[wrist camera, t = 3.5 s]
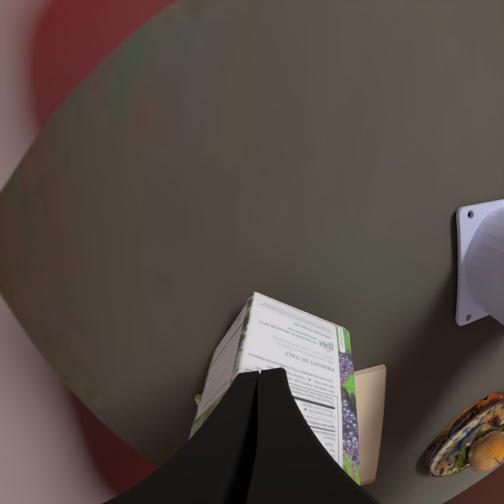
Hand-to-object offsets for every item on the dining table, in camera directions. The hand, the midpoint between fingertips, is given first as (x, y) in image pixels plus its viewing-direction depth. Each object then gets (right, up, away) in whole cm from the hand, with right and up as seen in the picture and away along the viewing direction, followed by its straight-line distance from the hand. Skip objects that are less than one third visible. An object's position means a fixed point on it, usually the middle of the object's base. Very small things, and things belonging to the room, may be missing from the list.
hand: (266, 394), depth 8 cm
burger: (+23, -15, +11) cm, 29 cm away
